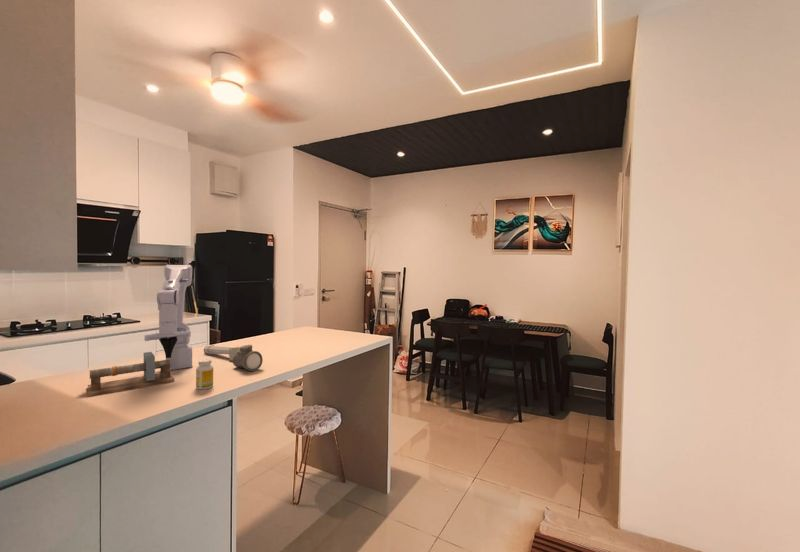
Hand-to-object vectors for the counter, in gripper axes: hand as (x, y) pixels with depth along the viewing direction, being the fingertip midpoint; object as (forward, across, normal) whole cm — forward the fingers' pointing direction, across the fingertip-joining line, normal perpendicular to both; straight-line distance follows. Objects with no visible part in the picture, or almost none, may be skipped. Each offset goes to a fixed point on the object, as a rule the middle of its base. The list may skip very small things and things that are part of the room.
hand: (168, 357), depth 135 cm
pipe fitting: (+8, +27, -5) cm, 29 cm away
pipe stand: (+8, -11, 0) cm, 14 cm away
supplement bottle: (+8, +8, -19) cm, 22 cm away
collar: (+7, -6, 0) cm, 9 cm away
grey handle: (+8, +25, +21) cm, 34 cm away
